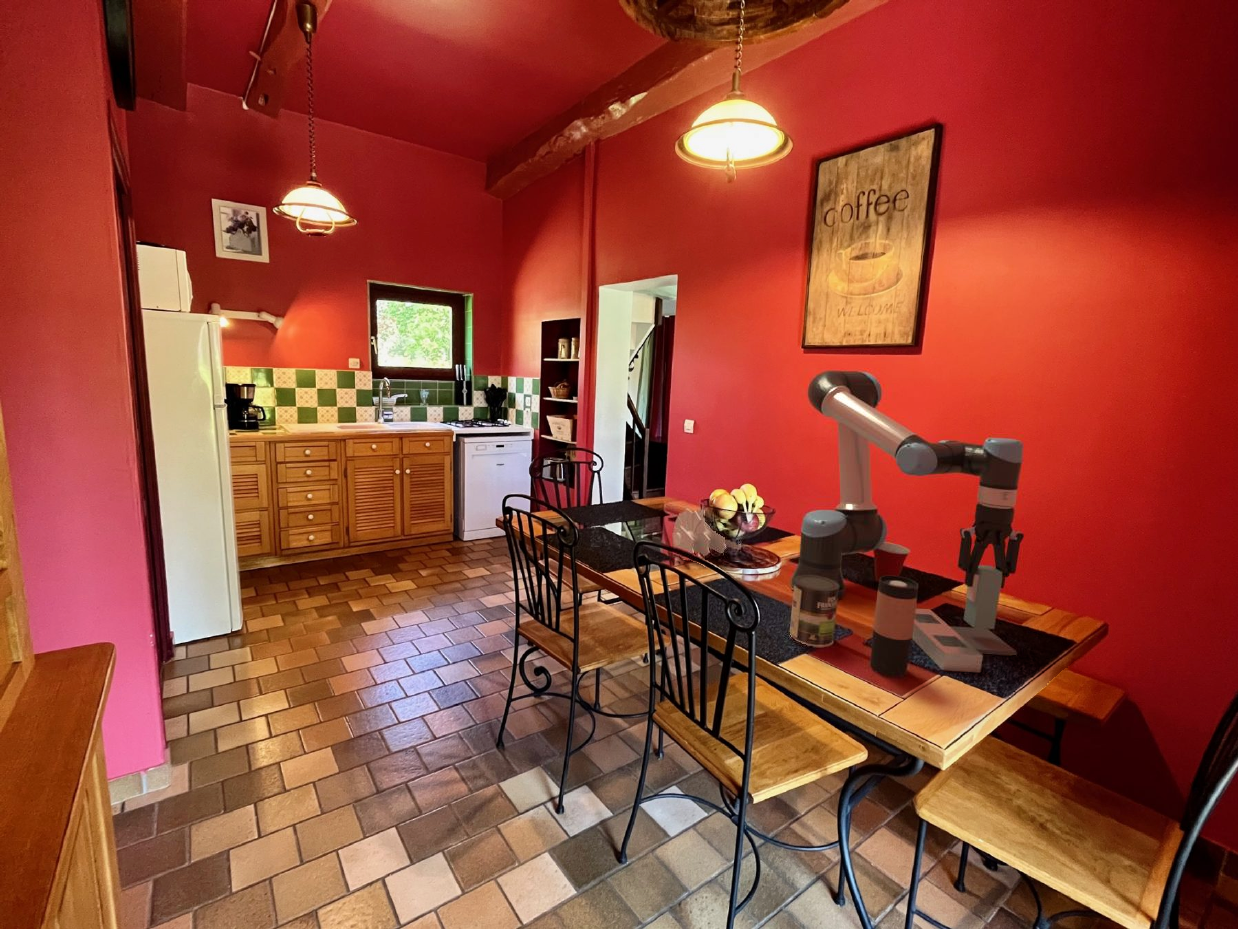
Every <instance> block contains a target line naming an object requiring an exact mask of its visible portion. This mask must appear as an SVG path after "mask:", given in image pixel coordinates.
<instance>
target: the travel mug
mask: <svg viewBox="0 0 1238 929" xmlns="http://www.w3.org/2000/svg"><path fill="white" fill-rule="evenodd" d="M877 587H878V589H877V595H876V596H877V597H876V603H875V611H874V619H873V626H872V628H873V629H872V637H871V638H872V639H871V648H870V650H871V651H870V663H869V664H870V667H871V670H873V671H874V672H876V673H878V674H880V675H882V676H885V677H889V678H902V677H905V676H906V674H907V670H908V665H909V660H910V659H909V658H910V654H911V653H910V652H911V647H912V641H913V639H912V636H913V627H914V619H915V610H916V609H917V601H918V591H919V583H917V582H916V581H914V580H913V579H911V578H907V577H903V576H900V575H899V576H891V575H888V576H882V577H880V579H879V583H878V586H877Z"/></svg>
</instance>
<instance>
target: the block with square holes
mask: <svg viewBox="0 0 1238 929" xmlns="http://www.w3.org/2000/svg"><path fill="white" fill-rule="evenodd" d="M912 641H914V642H915V643H916V644H917V645H918V647H920V649H922V650H923V652H924V653H926V655H927V656H928V657H929V658H930V659H931V660H932V661H933V662H934V663H935V664H936V665H937V666H938V667H939V668H940V669H941V671H952V672H966V673H967V672H969V673H981V669H982V662H983V658H984V657H983V656H984V655H983V654H981V653H980V652H978V651H977V650H976V649H975V648H974V647H973V646H971V645H970V644H969V643H968V642H967V641H966V640H965V639H963V638H962V637H961V636H960V635H959V634H958V633H956V632H955V631H954V630H953V629H952V628H951V627H950V626H949V624H947V623H946V622H945V621H944V620H943V619H942V618H940V617H939V616H938V615H937V614H936V613H935V612H934V611H933V610H931V609H930V608H916V610H915V619H914V627H913V636H912Z"/></svg>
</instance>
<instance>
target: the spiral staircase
mask: <svg viewBox="0 0 1238 929" xmlns="http://www.w3.org/2000/svg"><path fill="white" fill-rule="evenodd" d="M673 525H674V526H673V532H672V535H671V536H672V542H673V547H674V546H675V547H678V548H681V549H684V550H686V551H688V552H690V553H694V551H695V552H698V553H701V554H703V556H706V557H707V555H709V553H710V551H709V548H710V549H713V550H715V551H717V552H719V553H723V554H724V552H725V551H724V550H725V549H726V548H727V547H726V546H729V547H731V548H733V549H737V550H738V551H739V550H740V549H741V548H742V544H741V541H740V542H739V543H740V544H738V545H736V544H735V543H734V542H731V541H730V540H725V537H723V536H721V535H720V534H718V533H716V531H713V530H712V529H711V528H710V526H709V525H708V524H707V523H706V522H705V518H704V517H703V507H702V509H699V510H694V511H692V510H691V509H690V508H685V511H682V512H679V513H678V516H677V517H676V520H675V522H674V524H673ZM675 547H674V548H675Z"/></svg>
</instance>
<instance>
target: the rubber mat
mask: <svg viewBox="0 0 1238 929" xmlns="http://www.w3.org/2000/svg"><path fill="white" fill-rule="evenodd" d="M950 627H951V628H952V629H953V630H954V631H955V632H956V633H958V634H959V635H960V636H961V637H962V638H963V639H965V640H966V641H967V642H968V643H969V644H970V645H971V646H973V647H974V648H975V649H976V650H977V651H978V652H980V653H981V654H982V655H983V654H985V655H995V654H996V655H995V656H997V655H998V656H999V655H1000V656H1012V655H1016V656H1017V654H1018V653H1017V651H1016V649H1014V648H1013V647H1011V646H1010V645H1009V644H1007V643H1006V642H1005V641H1004V640H1002V639H1001V638H1000V637H999V636H997V635H996V634H994V633H993V632H992V631H991V630H990V629H985V628H974V627H965V626H950Z"/></svg>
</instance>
